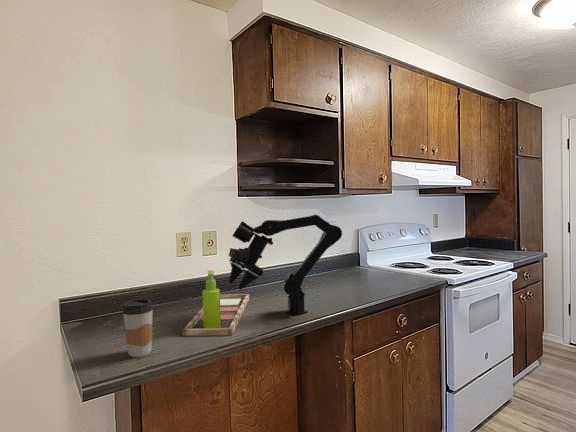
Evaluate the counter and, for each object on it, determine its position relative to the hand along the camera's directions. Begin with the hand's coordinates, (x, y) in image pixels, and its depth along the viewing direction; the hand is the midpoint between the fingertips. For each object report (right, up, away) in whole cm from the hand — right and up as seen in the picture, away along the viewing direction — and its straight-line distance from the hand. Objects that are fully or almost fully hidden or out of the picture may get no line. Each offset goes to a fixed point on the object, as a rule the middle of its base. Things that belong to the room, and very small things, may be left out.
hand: (234, 286), depth 133 cm
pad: (-6, -12, +22) cm, 26 cm away
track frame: (-6, -12, +7) cm, 15 cm away
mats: (-6, -12, +7) cm, 15 cm away
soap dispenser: (-6, -13, -8) cm, 17 cm away
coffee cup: (-24, -15, -28) cm, 39 cm away
